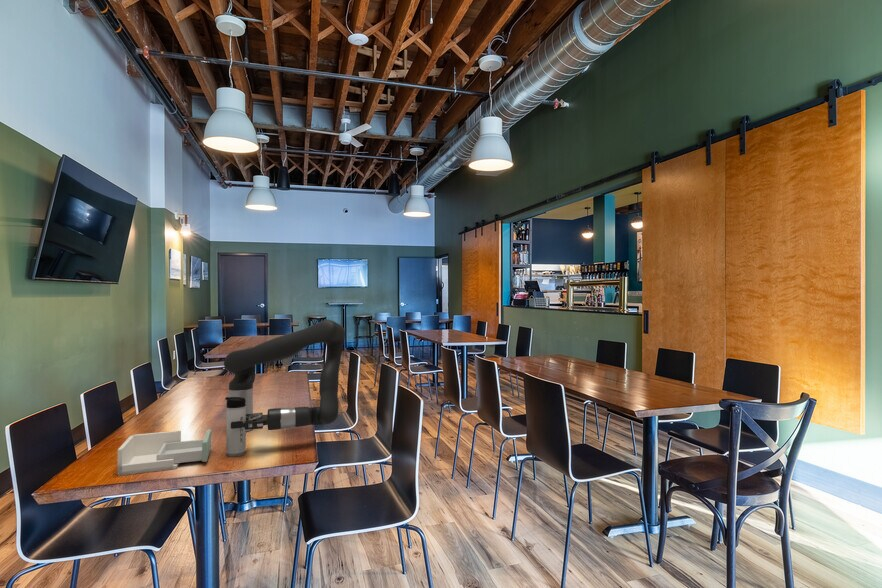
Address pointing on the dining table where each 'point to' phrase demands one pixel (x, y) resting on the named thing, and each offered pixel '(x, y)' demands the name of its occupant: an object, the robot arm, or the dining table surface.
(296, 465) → the dining table surface
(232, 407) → the travel mug
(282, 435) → the dining table surface
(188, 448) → the tray
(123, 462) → the dock
